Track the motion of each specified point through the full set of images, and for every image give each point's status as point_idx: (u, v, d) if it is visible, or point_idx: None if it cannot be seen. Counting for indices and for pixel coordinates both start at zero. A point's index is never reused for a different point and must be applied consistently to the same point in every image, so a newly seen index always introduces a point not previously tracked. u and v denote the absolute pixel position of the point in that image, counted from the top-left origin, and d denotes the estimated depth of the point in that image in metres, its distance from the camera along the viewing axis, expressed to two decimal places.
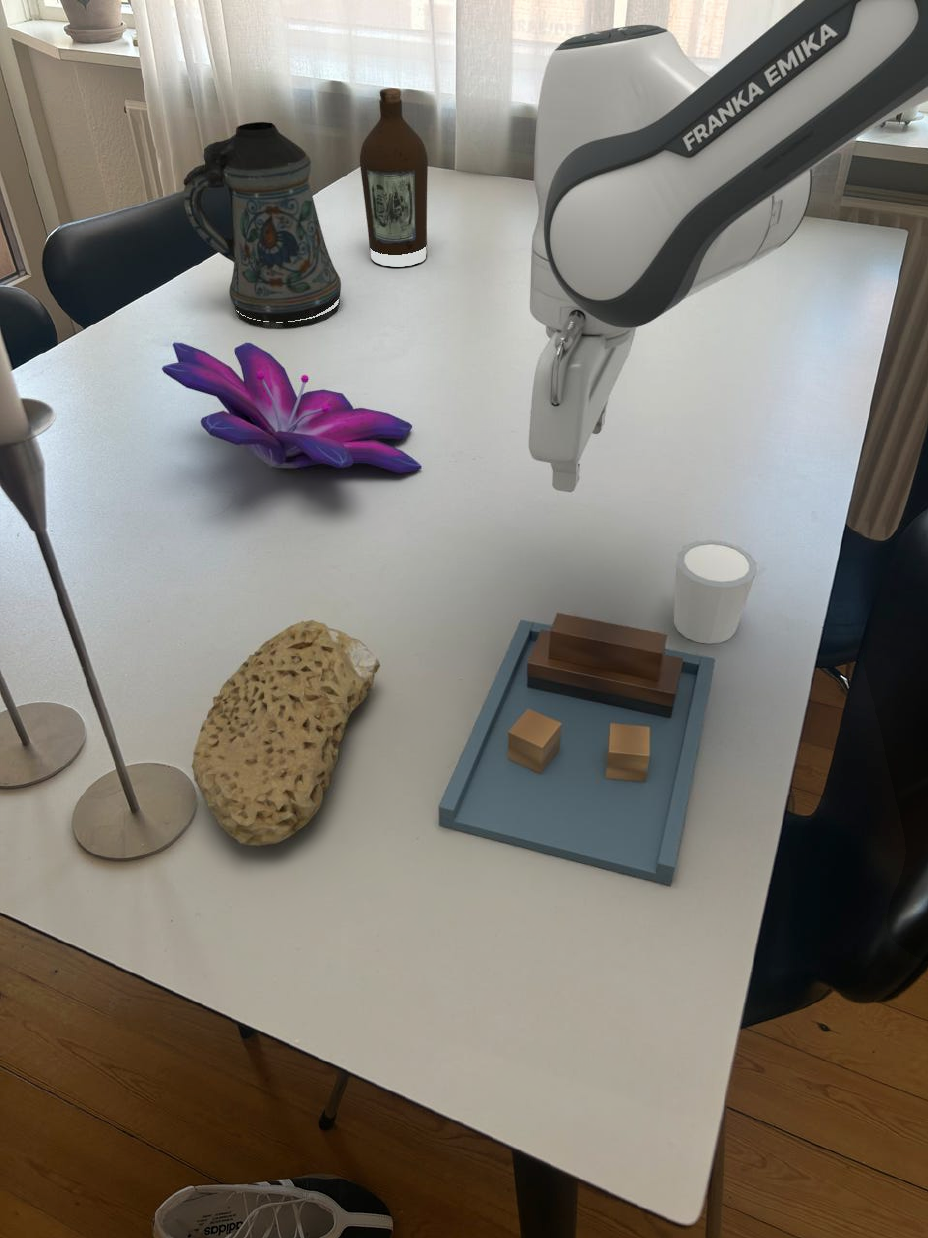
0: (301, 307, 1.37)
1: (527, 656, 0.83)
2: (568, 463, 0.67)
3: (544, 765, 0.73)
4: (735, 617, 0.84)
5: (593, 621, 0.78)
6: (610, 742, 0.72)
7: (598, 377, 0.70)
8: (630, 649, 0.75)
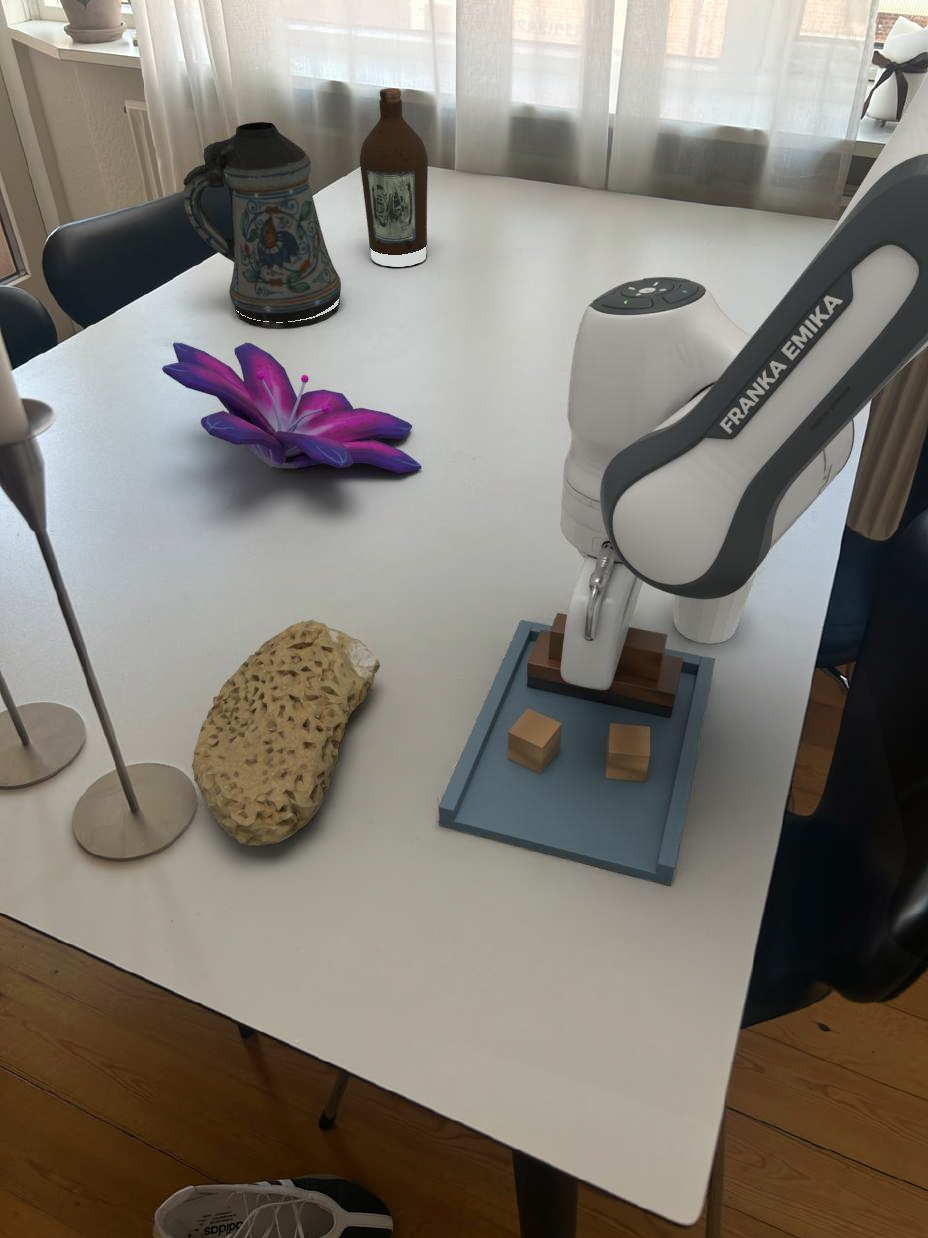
0: (301, 307, 1.37)
1: (527, 656, 0.83)
2: (600, 689, 0.67)
3: (544, 765, 0.73)
4: (735, 617, 0.84)
5: None
6: (610, 742, 0.72)
7: (629, 595, 0.70)
8: (630, 649, 0.75)
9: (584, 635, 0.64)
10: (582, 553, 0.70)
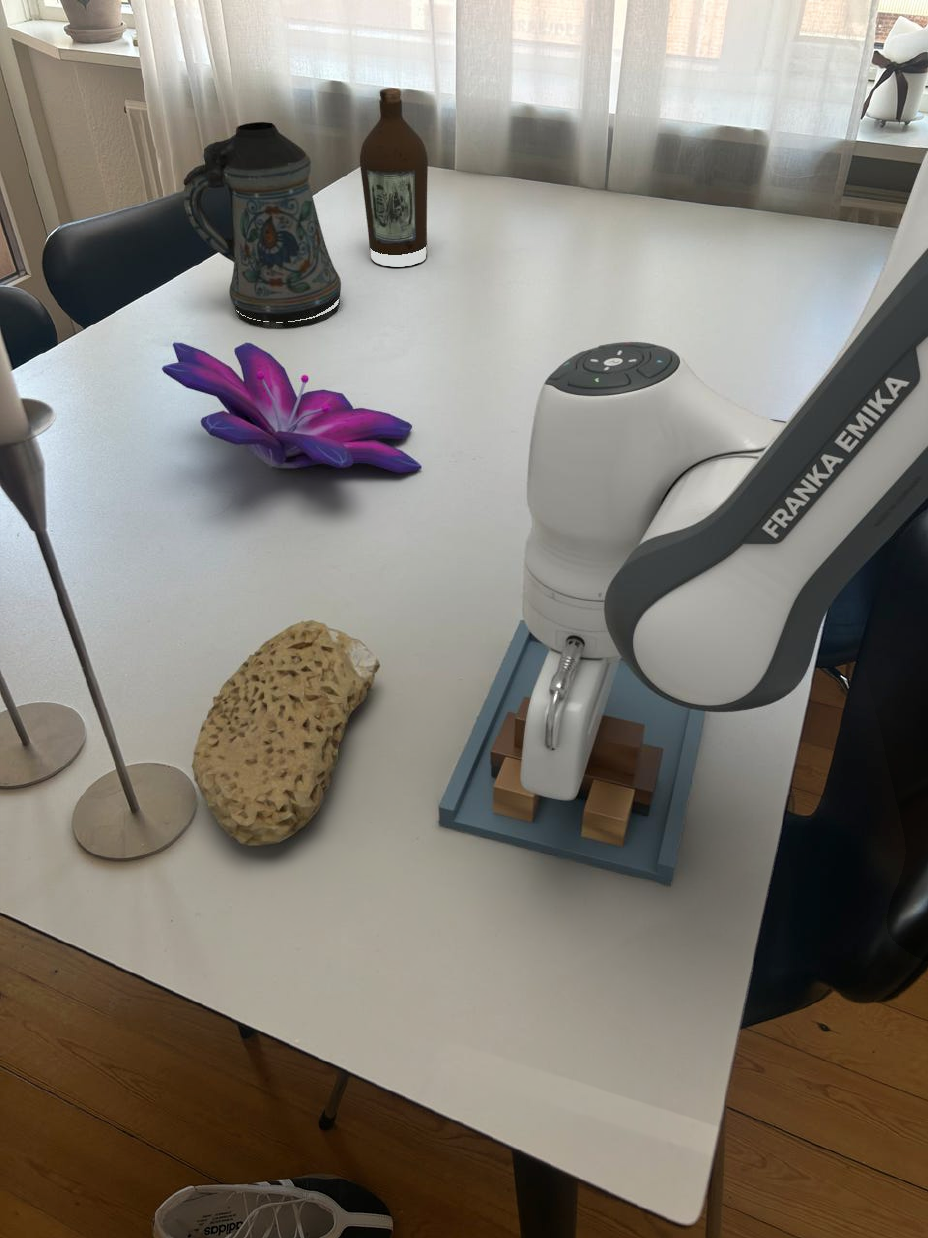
0: (301, 307, 1.37)
1: (527, 656, 0.83)
2: None
3: (534, 813, 0.70)
4: None
5: None
6: (588, 800, 0.67)
7: (599, 691, 0.62)
8: (603, 742, 0.68)
9: (544, 745, 0.57)
10: None
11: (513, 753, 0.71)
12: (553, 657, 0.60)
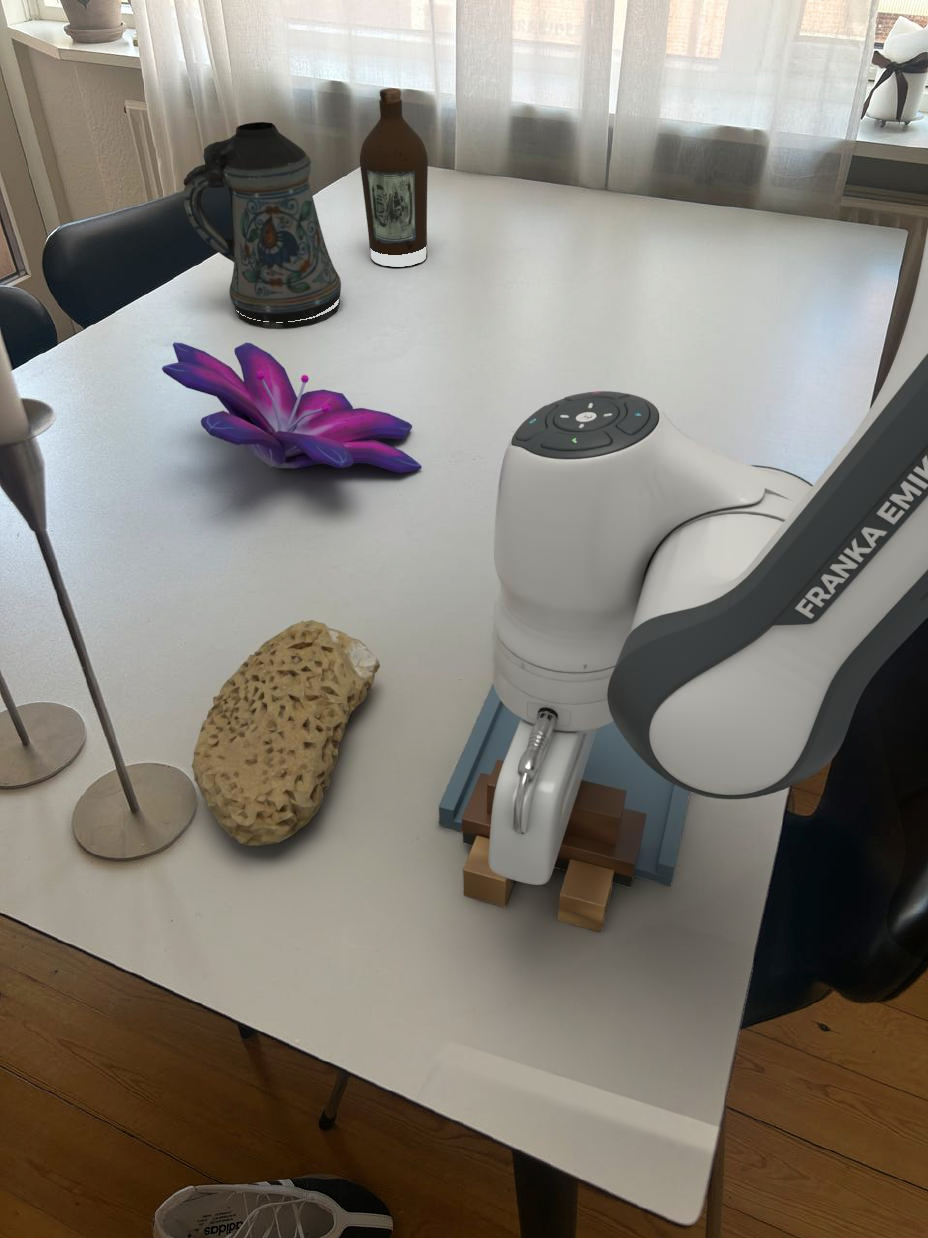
0: (301, 307, 1.37)
1: None
2: None
3: None
4: None
5: None
6: (564, 883, 0.63)
7: (575, 763, 0.57)
8: (581, 811, 0.63)
9: (513, 829, 0.52)
10: None
11: (486, 821, 0.66)
12: (524, 729, 0.55)
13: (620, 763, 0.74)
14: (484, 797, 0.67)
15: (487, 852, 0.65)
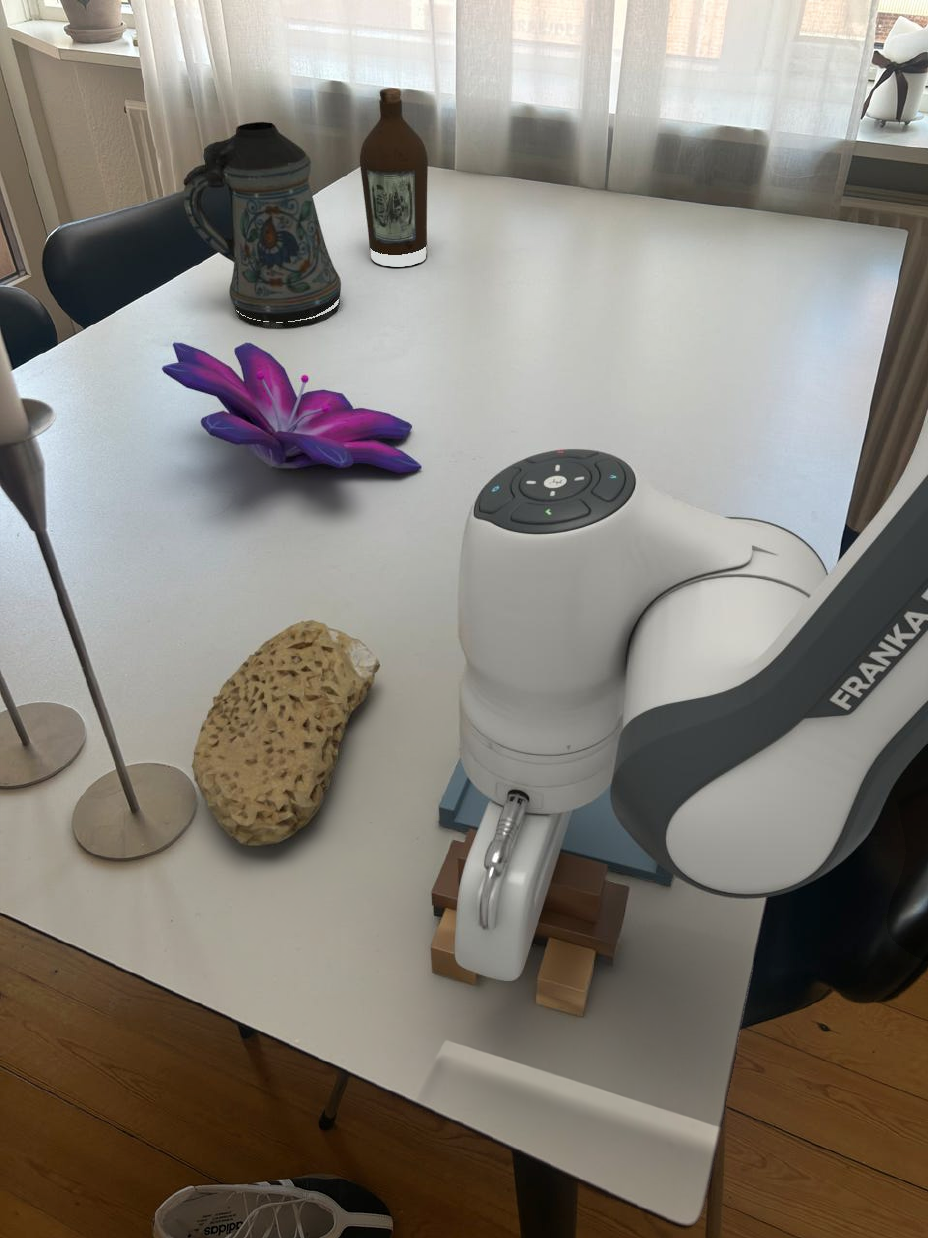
0: (301, 307, 1.37)
1: None
2: None
3: None
4: None
5: None
6: (542, 965, 0.59)
7: (549, 844, 0.53)
8: (559, 888, 0.59)
9: (480, 926, 0.47)
10: None
11: (457, 895, 0.61)
12: (493, 811, 0.50)
13: None
14: (456, 868, 0.63)
15: None
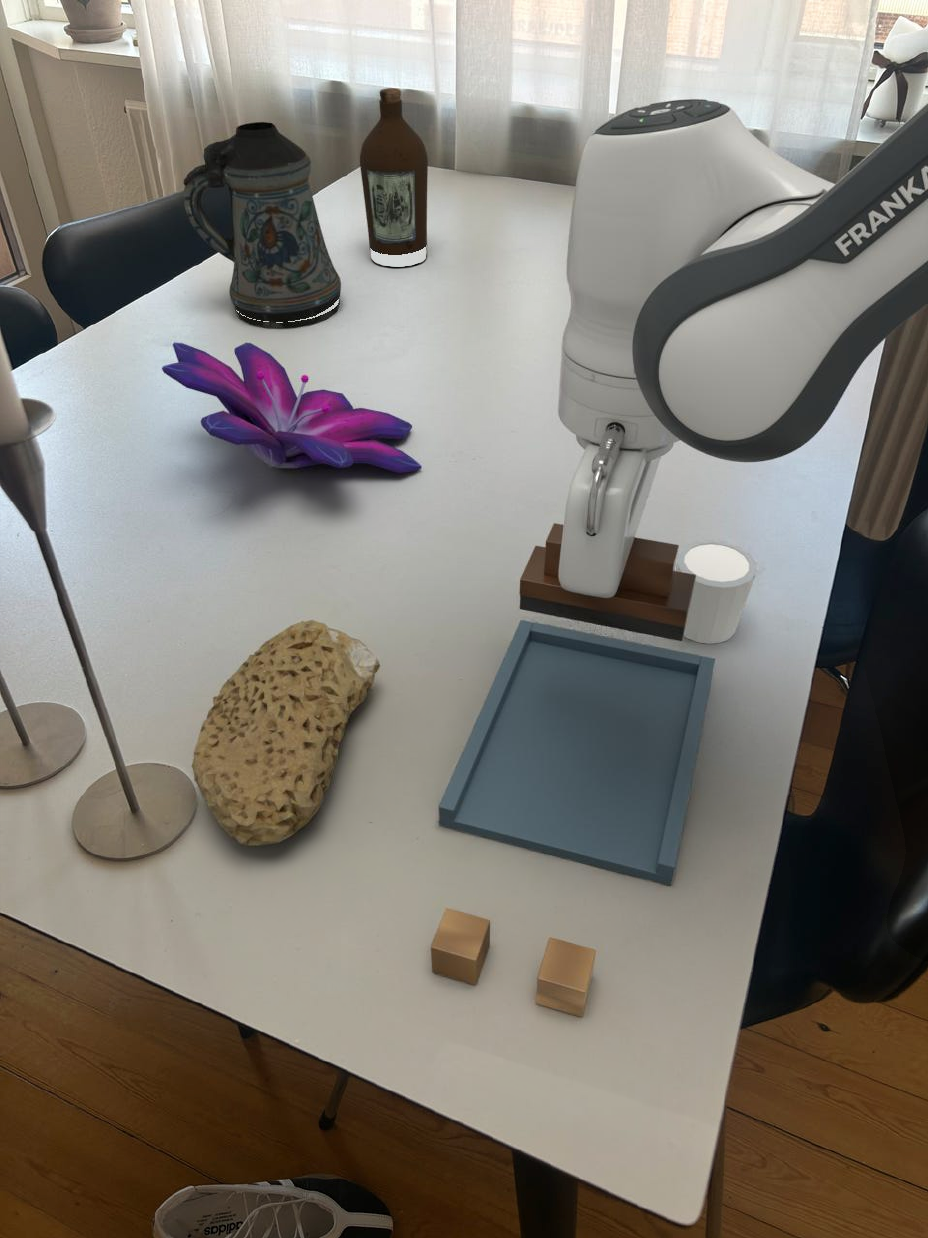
0: (301, 307, 1.37)
1: (527, 656, 0.83)
2: (604, 596, 0.58)
3: (487, 948, 0.63)
4: (735, 617, 0.84)
5: None
6: (542, 965, 0.59)
7: (637, 492, 0.61)
8: (637, 561, 0.66)
9: (586, 528, 0.55)
10: (583, 444, 0.61)
11: (543, 580, 0.69)
12: (592, 449, 0.58)
13: (620, 763, 0.74)
14: (540, 563, 0.71)
15: (457, 927, 0.61)
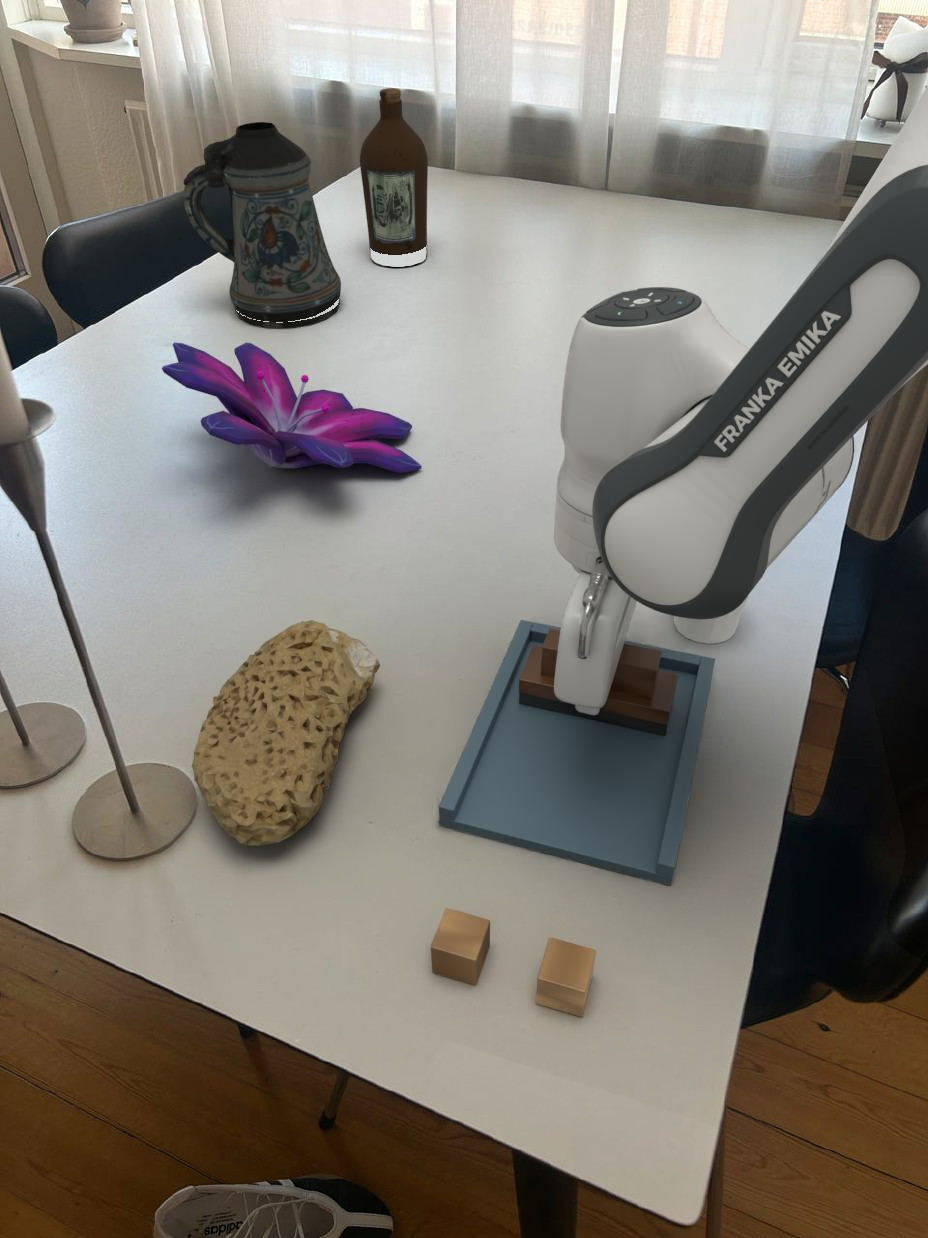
0: (301, 307, 1.37)
1: (527, 656, 0.83)
2: (594, 708, 0.66)
3: (487, 948, 0.63)
4: (735, 617, 0.84)
5: None
6: (542, 965, 0.59)
7: (624, 611, 0.68)
8: (624, 666, 0.74)
9: (577, 653, 0.63)
10: (576, 568, 0.68)
11: (540, 680, 0.77)
12: (583, 577, 0.66)
13: (620, 763, 0.74)
14: (537, 663, 0.78)
15: (457, 927, 0.61)
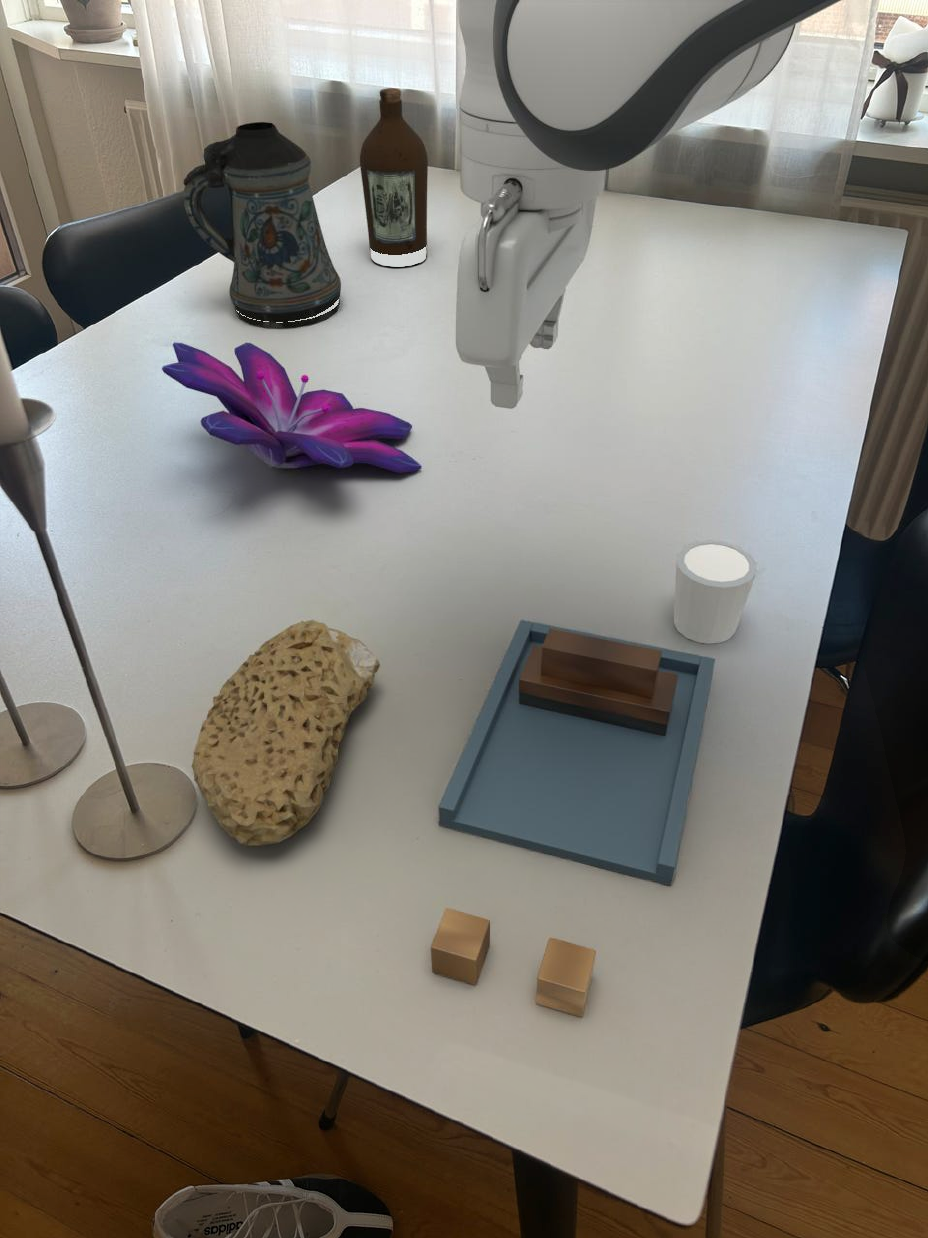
0: (301, 307, 1.37)
1: (527, 656, 0.83)
2: (503, 365, 0.56)
3: (487, 948, 0.63)
4: (735, 617, 0.84)
5: (586, 637, 0.76)
6: (542, 965, 0.59)
7: (541, 266, 0.59)
8: (624, 666, 0.74)
9: (478, 280, 0.53)
10: None
11: (540, 680, 0.77)
12: None
13: (620, 763, 0.74)
14: (537, 663, 0.78)
15: (457, 927, 0.61)
